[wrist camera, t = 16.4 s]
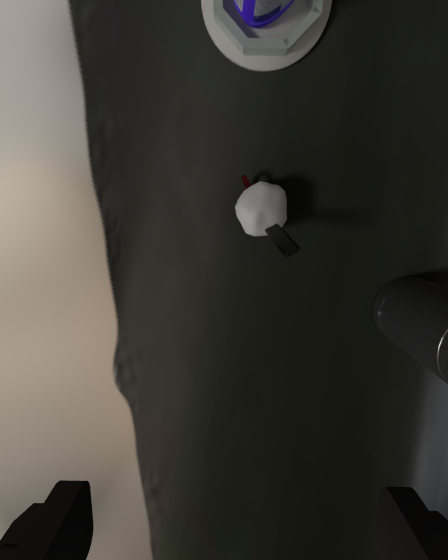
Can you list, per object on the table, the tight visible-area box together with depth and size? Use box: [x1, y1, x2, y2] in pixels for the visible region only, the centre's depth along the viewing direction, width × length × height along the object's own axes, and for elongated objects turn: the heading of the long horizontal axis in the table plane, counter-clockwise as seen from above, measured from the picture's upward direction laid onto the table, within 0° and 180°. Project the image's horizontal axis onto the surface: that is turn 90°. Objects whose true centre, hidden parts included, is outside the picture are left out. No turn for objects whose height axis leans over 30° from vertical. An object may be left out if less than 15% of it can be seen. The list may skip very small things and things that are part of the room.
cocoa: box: [235, 175, 300, 257], centre depth 37 cm, size 10×6×12 cm, turn 6°
